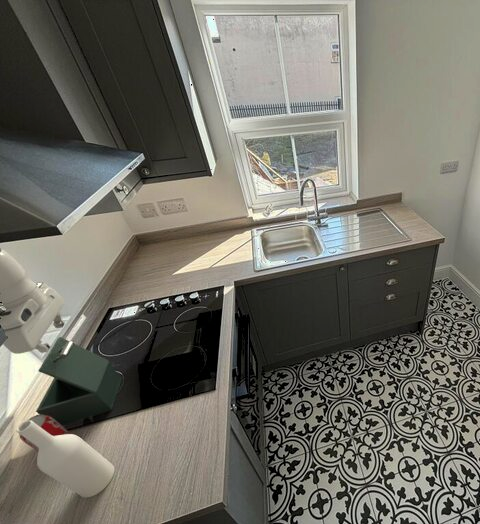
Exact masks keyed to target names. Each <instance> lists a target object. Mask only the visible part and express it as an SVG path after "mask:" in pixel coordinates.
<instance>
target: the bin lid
mask: <svg viewBox="0 0 480 524" xmlns="http://www.w3.org/2000/svg"><path fill="white" fill-rule="evenodd" d="M109 361H110V360H109V359H106V358H105V357H102V356H100V355H98V354H96V353H94V352H92V351H90V350H88V349H86V348H84V347H82V346H81V345H78V344H76V343H74V342H73V341H70V340H68V339H66V338H64V337H62V336H59V337H58V338H57V339H56V340H55V342H54V344H53V345H52V347H51V348H50V351H48V354H47V355H46V356H45V358H44V360H43V362H42V363H41V365H40V367H39V368H38V370H37V372H39V373H42V374H44V375H47V376H48V377H51V378H53V379H54V378H56V379H59V380H61V381H64V382H66V383H69V384H71V385H74V386H76V387H79V388H81V389H84V390H86V391H89V392H91V393H94V394H95V393H96V392H97V390H98V387H99V384H100V382H101V379H102V377H103V374H104V372H105V369H106V367H107V364H108V362H109Z"/></svg>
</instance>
